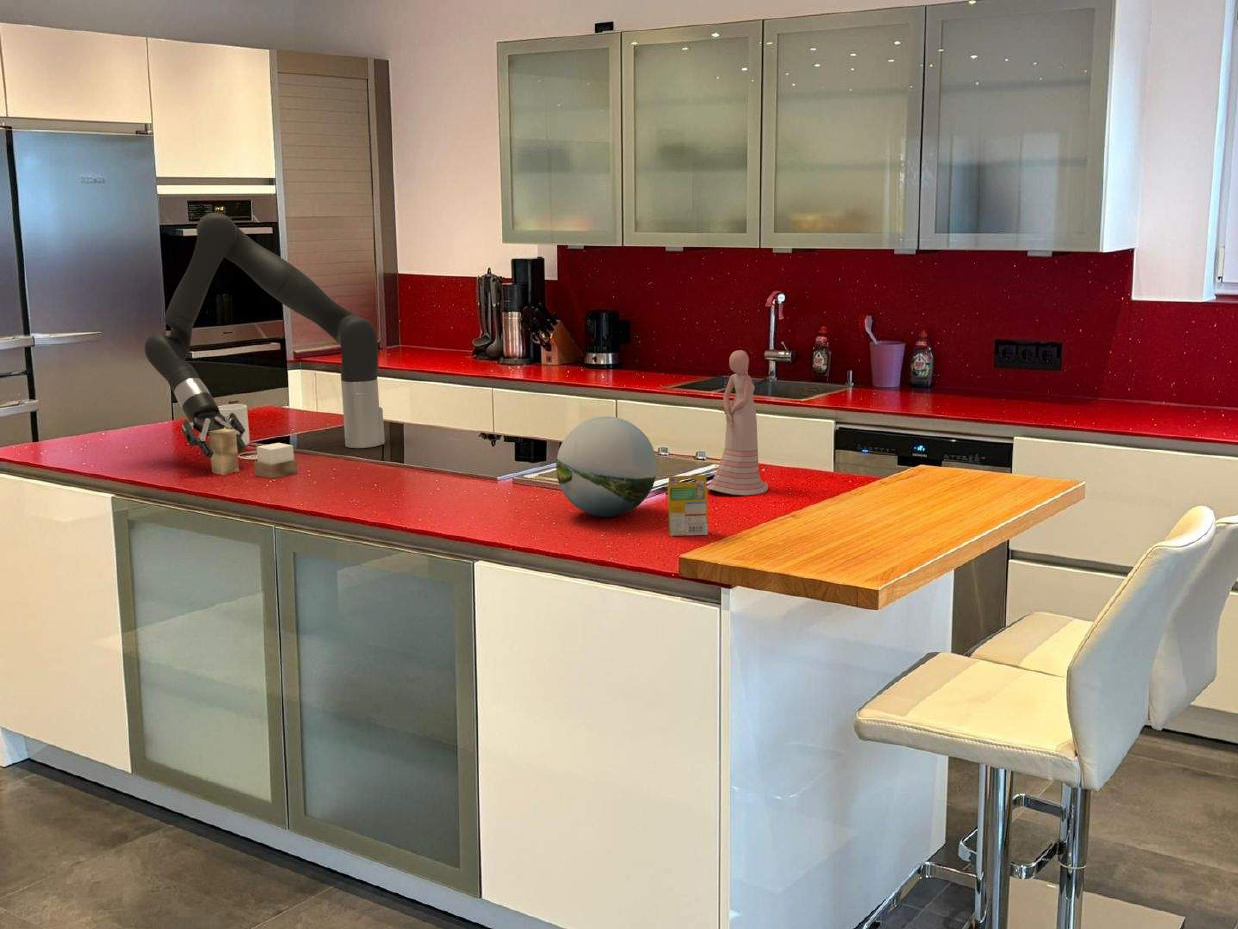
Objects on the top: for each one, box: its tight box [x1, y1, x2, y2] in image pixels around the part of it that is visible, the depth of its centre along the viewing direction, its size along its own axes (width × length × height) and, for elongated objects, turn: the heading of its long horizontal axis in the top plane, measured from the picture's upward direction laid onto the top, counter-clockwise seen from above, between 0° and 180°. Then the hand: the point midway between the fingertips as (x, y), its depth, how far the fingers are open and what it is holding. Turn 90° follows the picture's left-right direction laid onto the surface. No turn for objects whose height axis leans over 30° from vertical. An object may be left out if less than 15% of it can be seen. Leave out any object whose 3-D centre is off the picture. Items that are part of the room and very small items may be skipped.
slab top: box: [256, 442, 295, 464], centre depth 318 cm, size 6×6×4 cm
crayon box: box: [667, 474, 709, 538], centre depth 254 cm, size 7×3×12 cm, turn 92°
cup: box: [207, 403, 251, 447], centre depth 355 cm, size 8×12×10 cm
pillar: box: [208, 429, 240, 476], centre depth 322 cm, size 4×4×10 cm
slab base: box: [253, 459, 298, 479], centre depth 319 cm, size 7×7×4 cm
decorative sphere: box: [555, 416, 658, 518], centre depth 269 cm, size 20×20×20 cm
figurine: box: [707, 349, 769, 496], centre depth 287 cm, size 13×13×30 cm
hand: (226, 453), depth 321 cm, fingers open, 8 cm apart
